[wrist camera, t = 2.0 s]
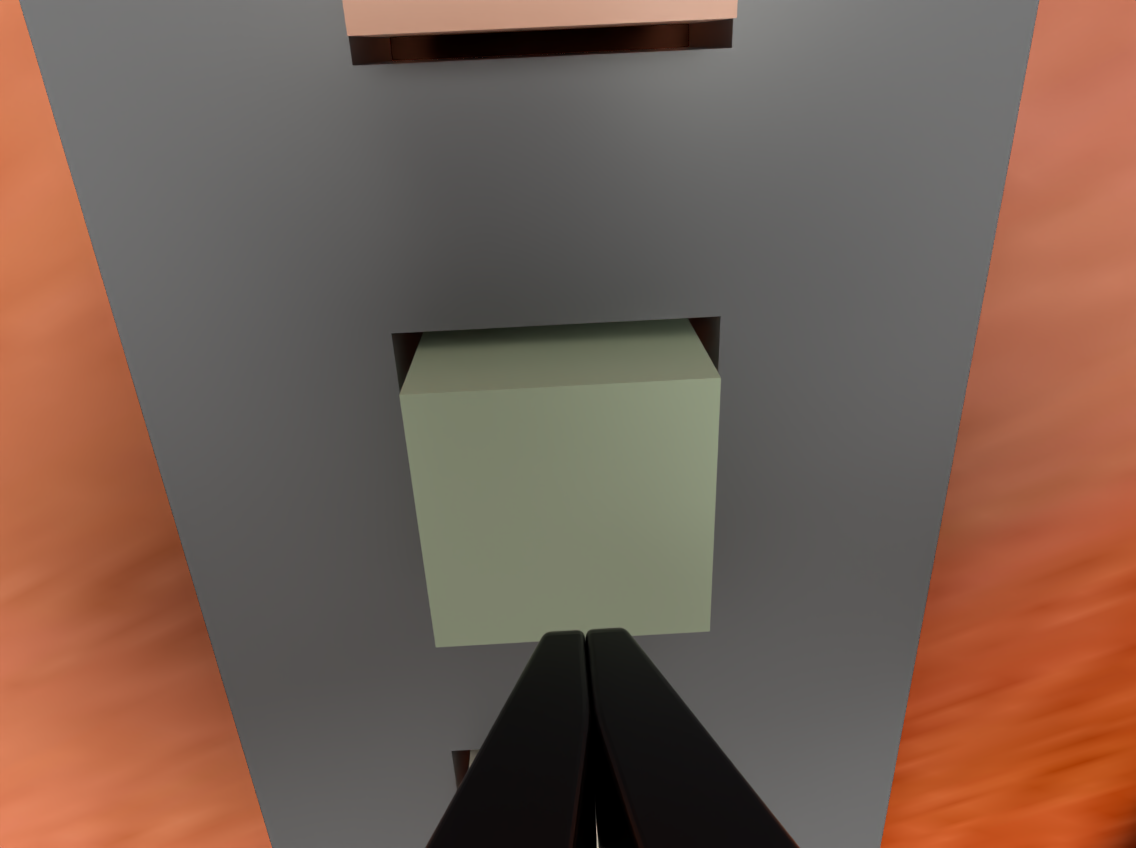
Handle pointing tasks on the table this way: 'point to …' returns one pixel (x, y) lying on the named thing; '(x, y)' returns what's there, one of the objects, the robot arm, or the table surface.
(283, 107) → the console
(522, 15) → the terracotta button
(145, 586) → the table surface
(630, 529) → the sage button
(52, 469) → the table surface
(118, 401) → the table surface
